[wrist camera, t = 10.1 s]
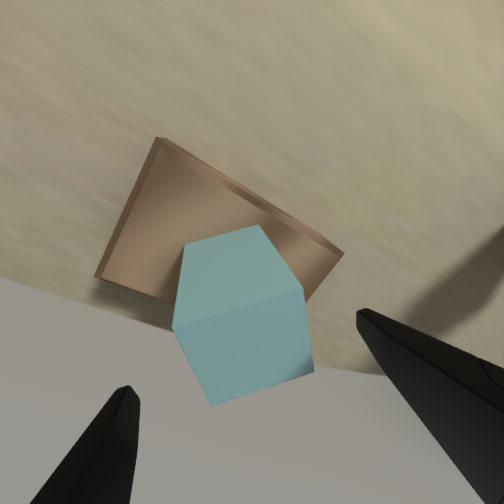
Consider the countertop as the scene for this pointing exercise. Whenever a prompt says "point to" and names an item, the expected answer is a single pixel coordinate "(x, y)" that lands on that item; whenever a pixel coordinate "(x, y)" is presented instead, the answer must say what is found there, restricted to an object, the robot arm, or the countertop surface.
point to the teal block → (240, 315)
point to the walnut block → (199, 225)
